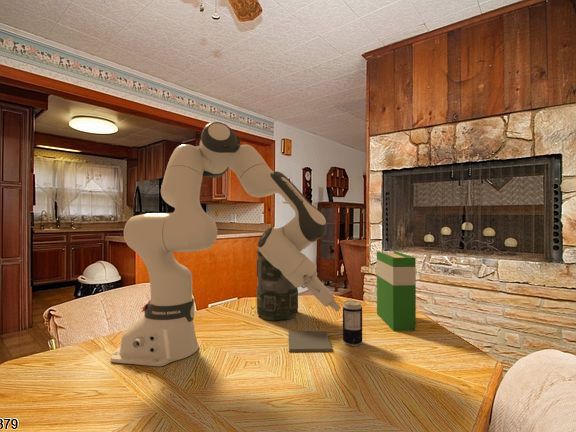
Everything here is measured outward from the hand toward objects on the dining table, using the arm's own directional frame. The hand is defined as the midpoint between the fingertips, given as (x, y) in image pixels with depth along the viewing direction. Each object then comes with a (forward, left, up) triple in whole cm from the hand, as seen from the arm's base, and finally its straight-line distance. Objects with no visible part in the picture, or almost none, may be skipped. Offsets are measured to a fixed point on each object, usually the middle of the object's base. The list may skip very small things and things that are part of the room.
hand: (334, 304), depth 94 cm
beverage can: (+5, -1, -12) cm, 13 cm away
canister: (-18, +26, -12) cm, 33 cm away
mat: (-8, 0, -11) cm, 14 cm away
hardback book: (+24, +17, -12) cm, 32 cm away
